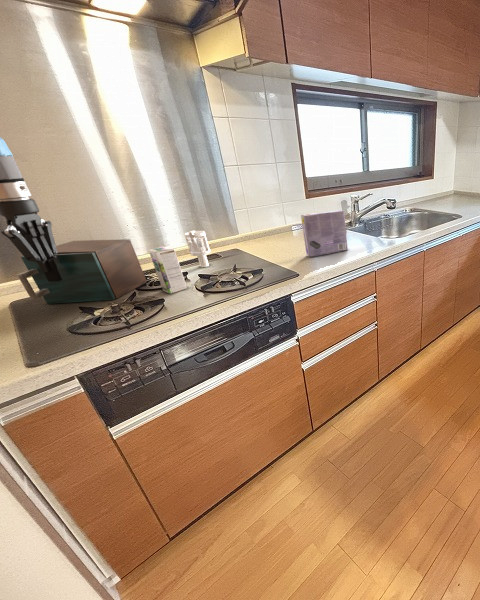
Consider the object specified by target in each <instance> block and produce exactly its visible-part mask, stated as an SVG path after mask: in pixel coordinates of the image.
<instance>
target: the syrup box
mask: <svg viewBox="0 0 480 600" xmlns="http://www.w3.org/2000/svg"><path fill="white" fill-rule="evenodd" d="M148 252H149V255H150V258H151V261H152V264H153V267H154V270H155V272H156V275H157V278H158V281H159V283H160V286H161V288H162V291H163V292H165V293H167V294H170V295H171V294H174V293H177V292H180V291H183V290H186V289H188V287H187V283H186V280H185V277H184V274H183V271H182V267H181V265H180V262H179V259H178V255H177V253H176V250H175V248H174V247H173V248H172V247H170V246H167V245H166V246H158V247H153V248H150V249H148Z"/></svg>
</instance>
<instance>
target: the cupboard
mask: <svg viewBox="0 0 480 600" xmlns="http://www.w3.org/2000/svg"><path fill="white" fill-rule="evenodd" d="M56 249H57V252H58V253H57V254H70V253H89V252H94V253H95V255H96V257H97V259H98V261H99V263H100V266H101V268H102V270H103V272H104V274H105V277H106V279H107V281H108V283H109V285H110V287H111V290H112V292H113V294H114V296H115V299H118V298H120V297H122V296H124V295H126V294H129V292H131V291H133V290H135V289H138V288H139V287H141V286H142V285H144V284H146V283H148V281H147V278H146V276H145V273H144V271H143V268H142V265H141V263H140V260H139V258H138V256H137V254H136V251H135V248H134V246H133V243H132V241H131V239H130V238H128V239H127V238H126V239H123V238H122V239H95V240H94V239H92V240H91V239H90V240H89V239H87V240H85V239H84V240H71V241H68V242H65V243H61V244H58V245H56ZM51 251H52V250H51Z"/></svg>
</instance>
